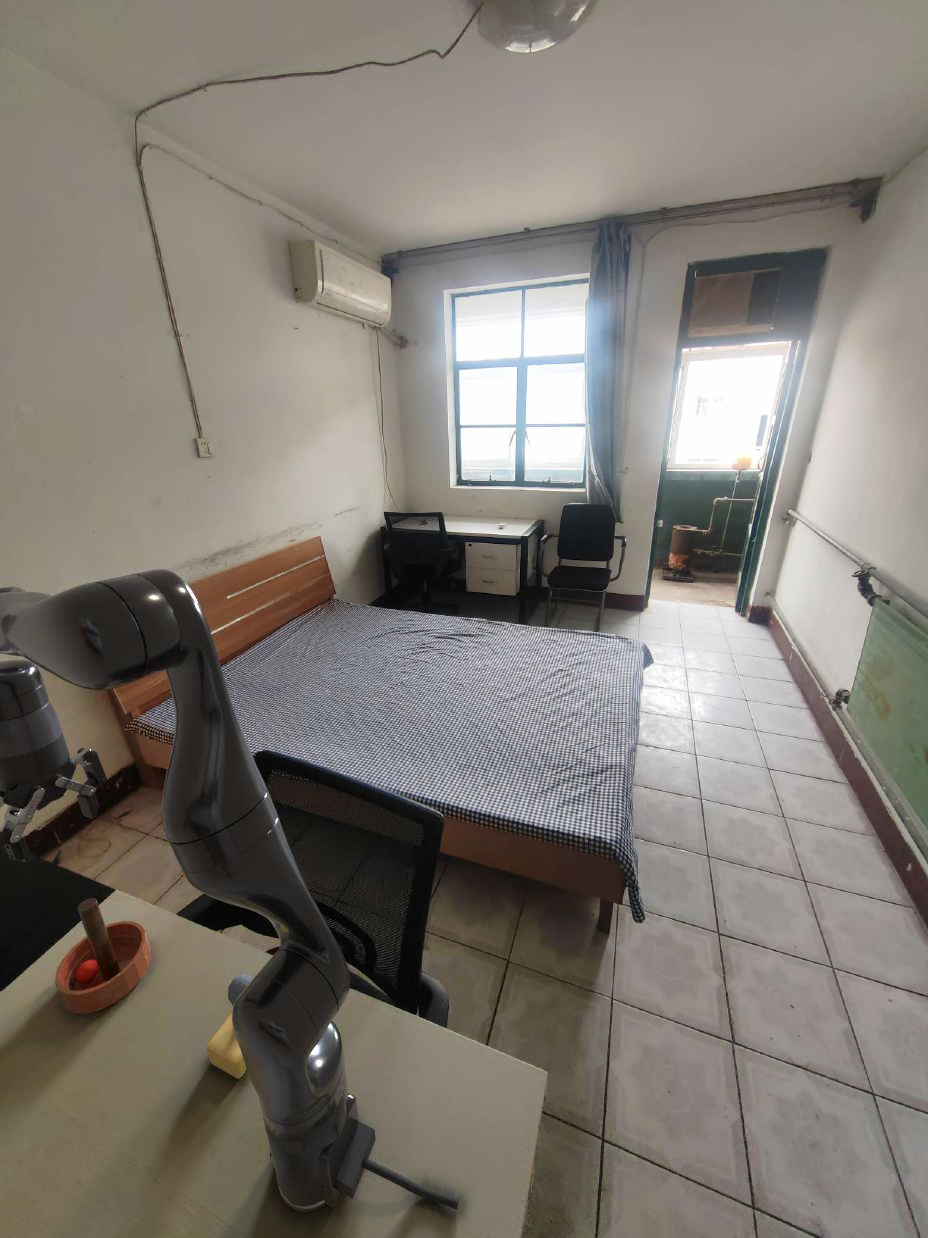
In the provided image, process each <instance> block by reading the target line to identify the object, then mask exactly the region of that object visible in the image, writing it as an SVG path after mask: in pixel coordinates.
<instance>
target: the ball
mask: <svg viewBox="0 0 928 1238" xmlns="http://www.w3.org/2000/svg"><path fill="white" fill-rule="evenodd" d="M98 971H99V968H98V965H97V962H96V960H88V961H86V962H84V963H83V964H82V965H81V966H80V967H79V968H78V970H77V973H76V978H77V980H78V981H80V982H88V981H90V980H91V979H93V978H94V977H95V976H96V975H97V973H98Z"/></svg>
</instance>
